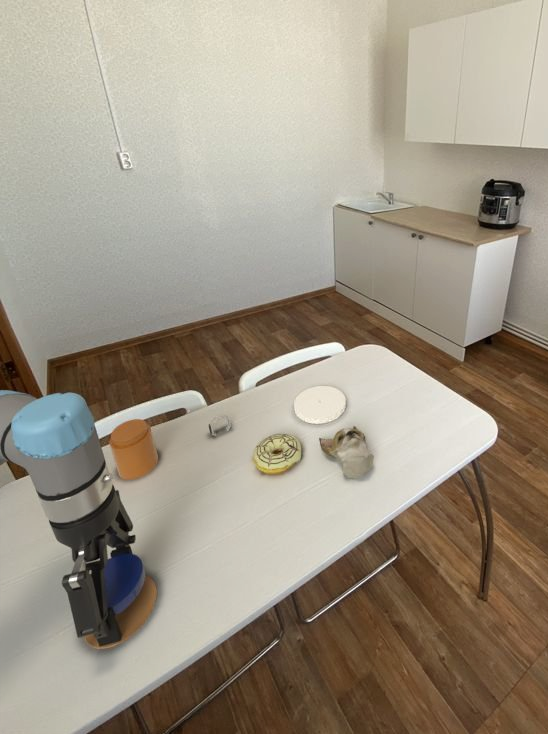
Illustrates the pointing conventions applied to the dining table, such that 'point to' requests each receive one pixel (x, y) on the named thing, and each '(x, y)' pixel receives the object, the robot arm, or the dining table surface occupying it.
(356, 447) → the ceramic sculpture
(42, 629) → the dining table surface
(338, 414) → the plastic lid
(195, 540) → the dining table surface
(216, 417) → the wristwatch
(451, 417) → the dining table surface
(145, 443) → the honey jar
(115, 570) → the jar lid
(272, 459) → the decorated donut
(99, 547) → the robot arm
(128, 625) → the wooden coaster
